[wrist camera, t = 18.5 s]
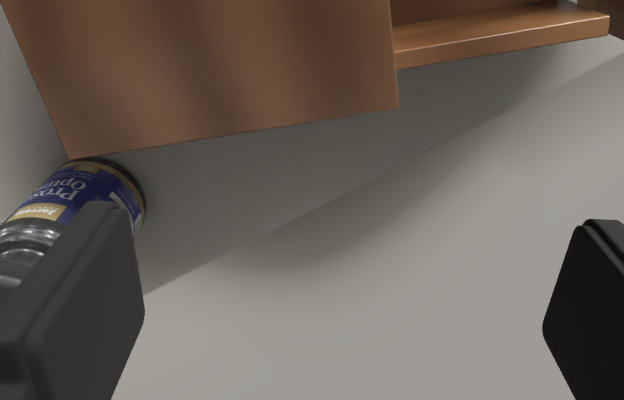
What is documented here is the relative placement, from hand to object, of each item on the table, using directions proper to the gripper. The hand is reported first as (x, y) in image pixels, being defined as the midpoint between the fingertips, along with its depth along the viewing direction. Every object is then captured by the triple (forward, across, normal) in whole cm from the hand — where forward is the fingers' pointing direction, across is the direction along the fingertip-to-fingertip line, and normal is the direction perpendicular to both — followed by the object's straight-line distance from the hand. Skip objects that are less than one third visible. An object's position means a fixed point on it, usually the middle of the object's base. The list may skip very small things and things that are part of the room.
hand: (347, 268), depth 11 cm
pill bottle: (+20, +14, +10) cm, 26 cm away
